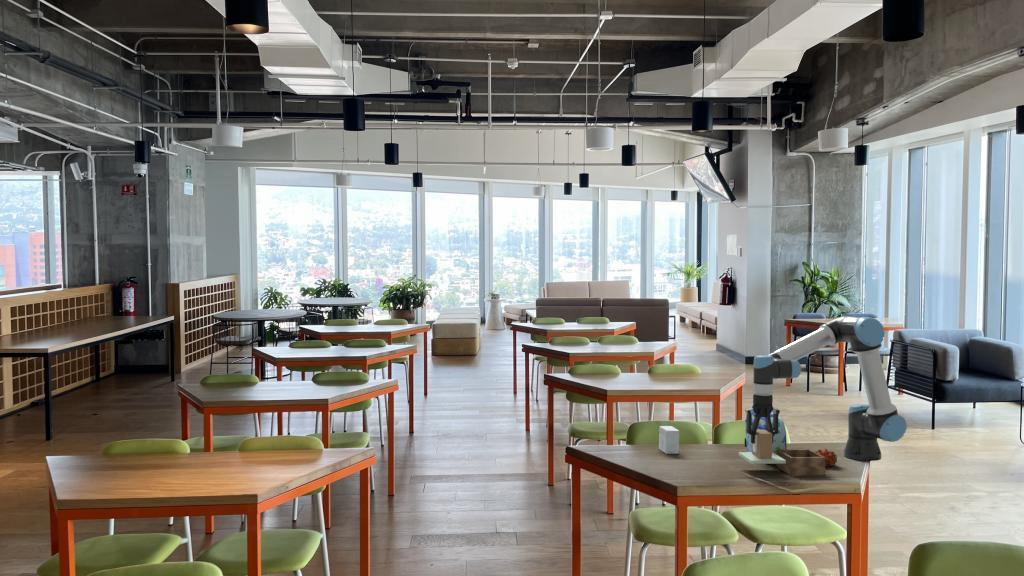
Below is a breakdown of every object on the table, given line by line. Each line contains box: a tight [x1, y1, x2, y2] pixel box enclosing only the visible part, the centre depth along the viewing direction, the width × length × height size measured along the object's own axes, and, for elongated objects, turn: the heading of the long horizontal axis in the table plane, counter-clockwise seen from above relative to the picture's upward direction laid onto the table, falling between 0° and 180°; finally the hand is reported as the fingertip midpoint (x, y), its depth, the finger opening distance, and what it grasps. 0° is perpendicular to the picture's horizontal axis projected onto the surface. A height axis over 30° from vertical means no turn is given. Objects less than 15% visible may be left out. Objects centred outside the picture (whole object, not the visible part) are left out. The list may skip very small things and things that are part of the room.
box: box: [775, 448, 826, 477], centre depth 321 cm, size 14×14×8 cm
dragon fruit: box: [815, 448, 838, 469], centre depth 329 cm, size 8×8×12 cm
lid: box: [738, 429, 786, 465], centre depth 319 cm, size 14×14×11 cm
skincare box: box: [658, 425, 680, 455], centre depth 357 cm, size 10×6×10 cm, turn 7°
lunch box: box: [744, 411, 788, 455], centre depth 342 cm, size 26×11×21 cm, turn 3°
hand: (761, 451), depth 319 cm, fingers closed on lid, 5 cm apart
